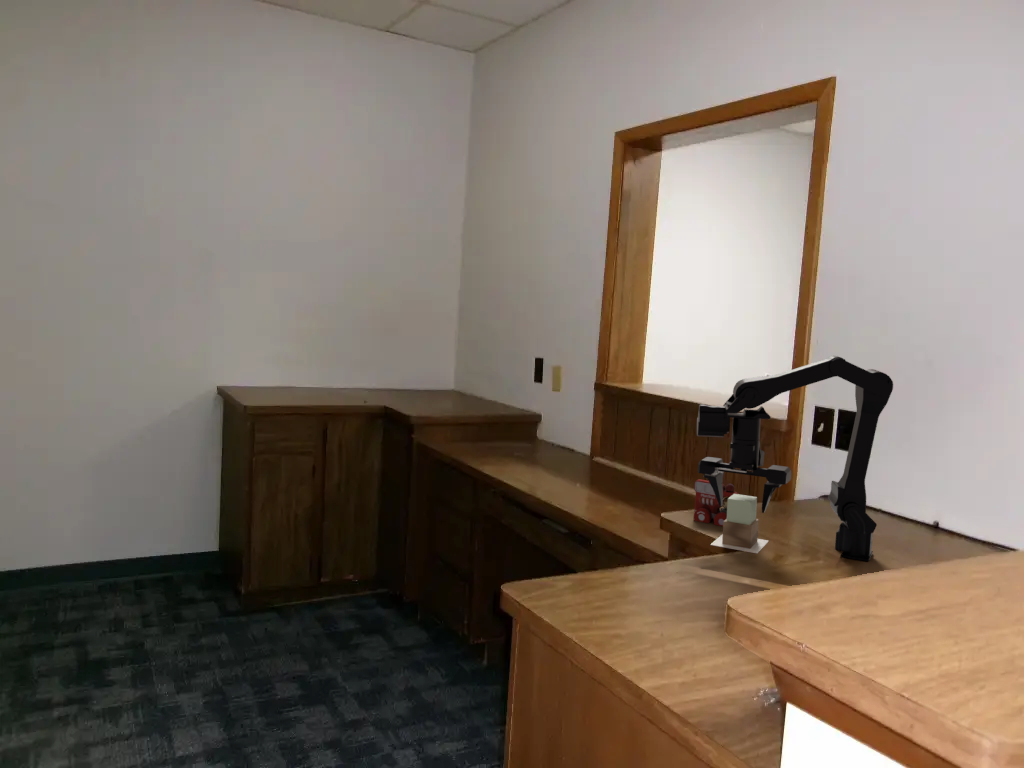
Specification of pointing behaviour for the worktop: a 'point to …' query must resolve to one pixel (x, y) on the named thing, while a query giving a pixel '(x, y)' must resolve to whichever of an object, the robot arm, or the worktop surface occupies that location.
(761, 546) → the build pad
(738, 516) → the sage cube
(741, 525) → the walnut block
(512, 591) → the worktop surface
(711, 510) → the toy fire truck
